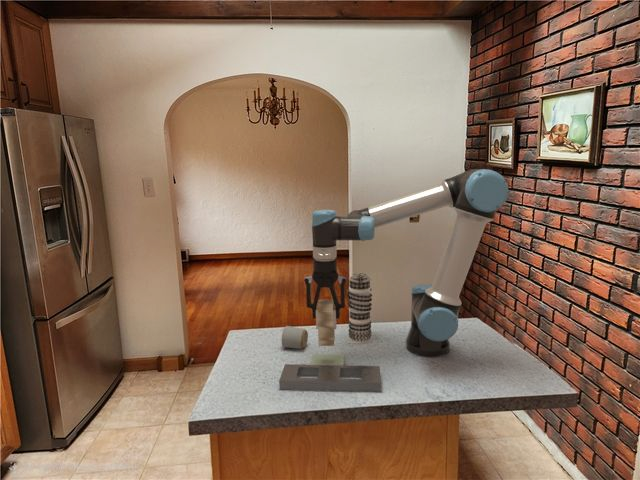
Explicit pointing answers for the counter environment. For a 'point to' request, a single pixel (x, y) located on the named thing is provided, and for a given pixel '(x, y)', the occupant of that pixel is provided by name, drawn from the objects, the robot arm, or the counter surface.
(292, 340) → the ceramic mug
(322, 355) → the mat
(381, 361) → the counter surface
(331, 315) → the peg
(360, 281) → the decorative candle
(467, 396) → the counter surface
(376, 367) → the grey flat slotted plate
